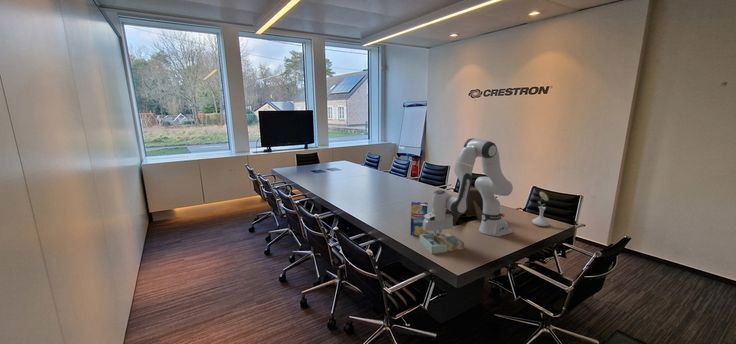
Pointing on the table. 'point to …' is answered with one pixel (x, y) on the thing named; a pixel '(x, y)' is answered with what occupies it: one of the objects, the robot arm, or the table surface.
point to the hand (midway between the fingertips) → (437, 235)
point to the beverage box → (418, 217)
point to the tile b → (452, 239)
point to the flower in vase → (541, 213)
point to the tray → (432, 248)
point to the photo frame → (474, 204)
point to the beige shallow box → (450, 246)
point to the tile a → (430, 241)
